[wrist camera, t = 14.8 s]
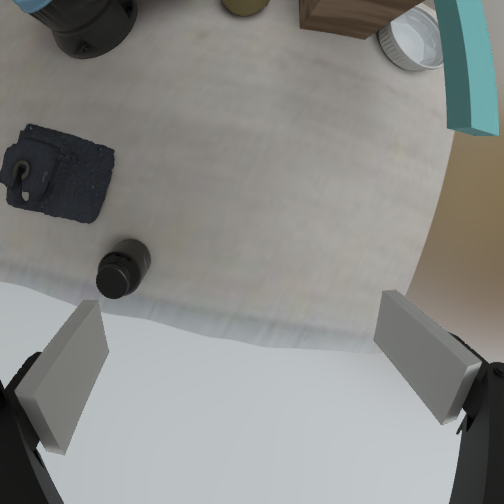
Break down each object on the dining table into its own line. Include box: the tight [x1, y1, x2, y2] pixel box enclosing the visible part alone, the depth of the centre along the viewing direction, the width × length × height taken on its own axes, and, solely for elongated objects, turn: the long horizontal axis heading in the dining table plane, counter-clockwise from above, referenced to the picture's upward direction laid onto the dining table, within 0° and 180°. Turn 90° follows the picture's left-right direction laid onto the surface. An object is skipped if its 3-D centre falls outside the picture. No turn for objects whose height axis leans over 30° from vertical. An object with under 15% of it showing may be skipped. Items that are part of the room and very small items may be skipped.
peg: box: [434, 0, 499, 136], centre depth 16 cm, size 23×5×4 cm, turn 179°
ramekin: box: [379, 5, 444, 71], centre depth 42 cm, size 13×13×7 cm
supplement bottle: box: [96, 240, 151, 299], centre depth 46 cm, size 7×7×12 cm
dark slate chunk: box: [0, 124, 114, 224], centre depth 44 cm, size 15×22×5 cm
